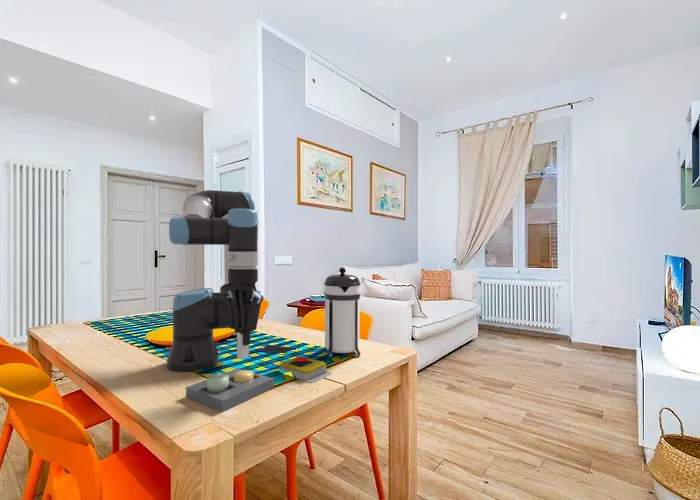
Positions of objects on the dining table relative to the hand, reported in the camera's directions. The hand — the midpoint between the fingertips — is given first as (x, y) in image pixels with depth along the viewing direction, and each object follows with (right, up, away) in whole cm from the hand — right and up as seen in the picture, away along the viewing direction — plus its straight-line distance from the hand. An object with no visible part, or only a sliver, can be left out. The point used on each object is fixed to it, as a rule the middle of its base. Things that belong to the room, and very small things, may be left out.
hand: (243, 356), depth 94 cm
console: (-2, -8, -3) cm, 9 cm away
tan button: (0, -8, 0) cm, 8 cm away
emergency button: (+15, -9, +11) cm, 20 cm away
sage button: (-4, -6, -7) cm, 10 cm away
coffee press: (+25, -8, +32) cm, 41 cm away
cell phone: (+2, -8, +33) cm, 34 cm away
